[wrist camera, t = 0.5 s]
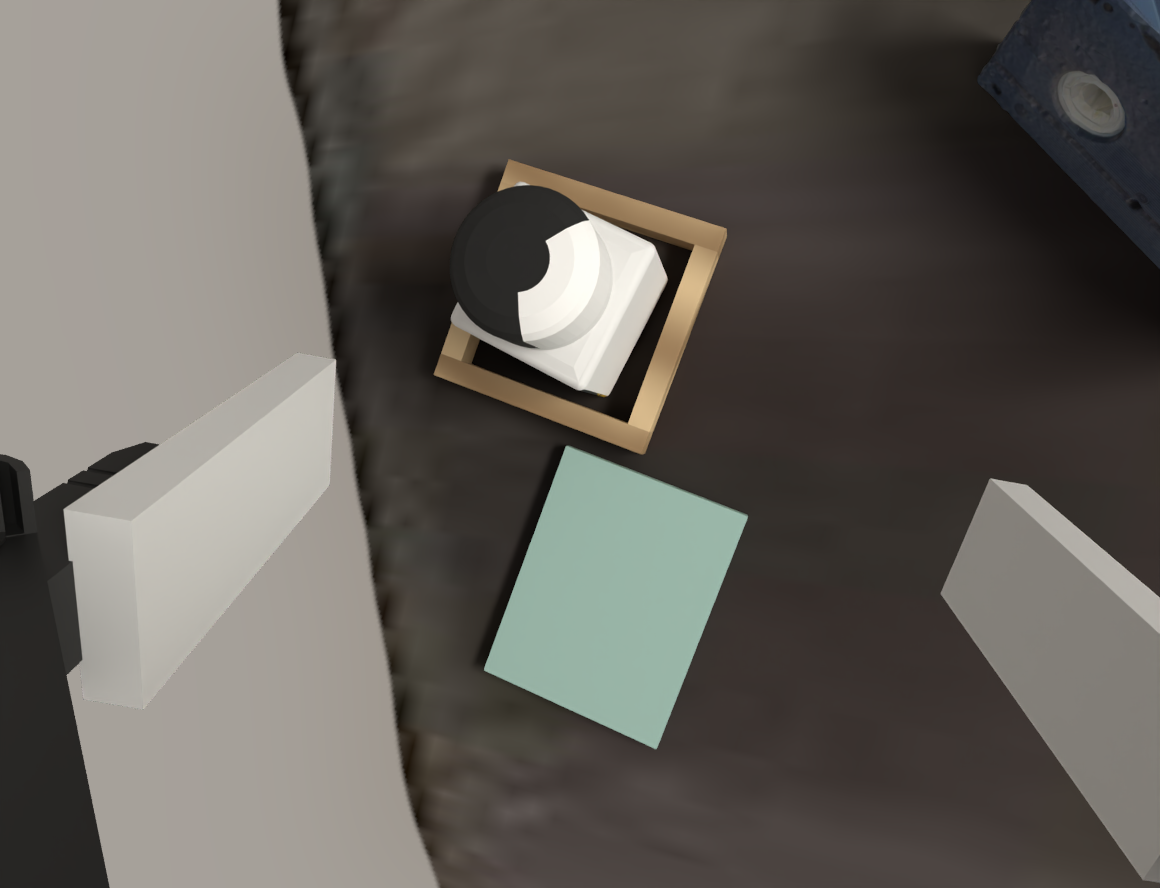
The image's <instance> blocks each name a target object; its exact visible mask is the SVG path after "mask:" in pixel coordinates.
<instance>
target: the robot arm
mask: <svg viewBox="0 0 1160 888" xmlns="http://www.w3.org/2000/svg"><path fill="white" fill-rule="evenodd" d="M335 374H336V359H330V358H324V357H319V356H314V355H308V354H303V353H296V354H294V355H293V356H291V357H290V358H288V359H287V360H285V361H284V362H282V363H281V364H279V365H278V366H276V367H275V368H273V369H272V370H270V371H269V372H267V373H266V374H264V375H263V376H261V377H260V378H259V379H257V380H255V381H254V382H252V383H251V384H250V385H248V386H246V387H245V388H243V389H242V390H241V391H239V392H238V393H236V394H235V395H233V396H232V397H230V398H229V399H227V400H226V401H224V402H223V403H221V404H220V405H218V406H217V407H215V408H214V409H212V410H211V411H209V412H208V413H206V414H205V415H203V416H202V417H200V418H199V419H198V420H196V421H194V422H193V423H191V424H190V425H188V426H187V427H185V428H184V429H182V430H181V431H179V432H178V433H176V434H175V435H173V436H172V437H170V438H169V439H167V440H166V441H164V442H163V443H161V444H160V445H159V444H153V443H147V442H144V443H142V444H138V445H135V446H132V447H128V448H125V449H122V450H119V451H115V452H112V453H111V454H109V455H107V456H106V457H104V458H102V459H101V460H99V461H98V462H96V463H94V464H93V465H91V466H90V467H88V470H87V471H82V472H80V473H78V474H77V475H75V476H73V477H72V478H70V479H69V480H68V483H67V484H65V483H62V484H61V485H59V486H57V487H56V488H54V489H53V490H51V491H49V492H48V493H46V494H45V495H43V496H41V497H40V498H38V499H37V500H35V501H33V492H32V485H31V476H30V470H29V468H28V467H27V466H26V465H25V464H24V462H23V461H20V460H18V459H15V458H12V457H10V456H7V455H1V454H0V888H109V883H108V878H107V873H106V868H105V863H104V858H103V853H102V848H101V843H100V839H99V834H98V829H97V824H96V819H95V814H94V809H93V804H92V799H91V794H90V789H89V784H88V779H87V774H86V770H85V765H84V760H83V755H82V750H81V745H80V740H79V736H78V730H77V725H76V720H75V716H74V710H73V705H72V701H71V696H70V691H69V686H68V681H67V676H66V675H67V674H68V673H69V672H70V671H71V670H72V669H73V668H74V667H75V666H77V665H78V664H80V674H81V683H82V693H83V700H89V701H95V702H101V703H106V704H112V705H118V706H125V707H131V708H136V709H142V710H144V709H145V707H146V706H147V705H148V704H149V702H150V701H151V700H152V699H153V697H154V696H155V695H156V694H157V693H158V692H159V690H160V689H161V688H162V687H163V686H164V684H165V683H166V682H167V681H168V680H169V678H170V677H171V676H172V675H173V674H174V672H175V671H176V670H177V669H178V668H179V666H180V665H181V664H182V663H183V662H184V660H185V659H186V658H187V657H188V655H189V654H190V653H191V652H192V650H193V649H194V648H195V647H196V646H197V645H198V643H199V642H200V641H201V640H202V639H203V637H204V636H205V635H206V634H207V633H208V631H209V630H210V629H211V628H212V627H213V625H214V624H215V623H216V622H217V621H218V619H219V618H220V617H221V616H222V614H223V613H224V612H225V611H226V610H227V608H228V607H229V606H230V605H231V604H232V602H233V601H234V600H235V599H236V598H237V596H238V595H239V594H240V593H241V591H242V590H243V589H244V588H245V587H246V586H247V584H248V583H249V582H250V581H251V579H252V578H253V577H254V576H255V575H256V573H257V572H258V571H259V570H260V568H261V567H262V566H263V565H264V564H265V563H266V561H267V560H268V559H269V558H270V557H271V555H272V554H273V553H274V552H275V550H276V549H277V548H278V547H279V546H280V545H281V543H282V542H283V541H284V540H285V538H286V537H287V536H288V535H289V534H290V532H291V531H292V530H293V529H294V528H295V526H296V525H297V524H298V523H299V522H300V520H301V519H302V518H303V517H304V516H305V514H306V513H307V512H308V511H309V510H310V508H311V507H312V506H313V505H314V503H315V502H316V501H317V500H318V499H319V497H320V496H321V495H322V494H323V493H324V491H325V490H326V489H327V488H328V487H329V485H330V472H331V471H330V470H331V451H332V432H333V413H334V394H335ZM941 595H942V596H943V598H944V599H945V601H946V602H947V604H948V605H949V606H950V608H951V609H952V611H953V612H954V613H955V615H956V616H957V618H958V619H959V621H960V622H961V623H962V625H963V626H964V628H965V629H966V630H967V632H968V633H969V635H970V636H971V637H972V639H973V640H974V642H975V643H976V645H977V646H978V647H979V649H980V650H981V652H982V653H983V654H984V656H985V657H986V659H987V660H988V662H989V663H990V664H991V666H992V667H993V669H994V670H995V671H996V673H997V674H998V676H999V677H1000V678H1001V680H1002V681H1003V683H1004V684H1005V686H1006V687H1007V688H1008V690H1009V691H1010V693H1011V694H1012V695H1013V697H1014V698H1015V700H1016V701H1017V703H1018V704H1019V705H1020V707H1021V708H1022V710H1023V711H1024V712H1025V714H1026V715H1027V717H1028V718H1029V720H1030V721H1031V722H1032V724H1033V725H1034V727H1035V728H1036V729H1037V731H1038V732H1039V734H1040V735H1041V736H1042V738H1043V739H1044V741H1045V742H1046V744H1047V745H1048V746H1049V748H1050V749H1051V751H1052V752H1053V753H1054V755H1055V756H1056V758H1057V759H1058V761H1059V762H1060V763H1061V765H1062V766H1063V768H1064V769H1065V770H1066V772H1067V773H1068V775H1069V776H1070V777H1071V779H1072V780H1073V782H1074V783H1075V785H1076V786H1077V787H1078V789H1079V790H1080V792H1081V793H1082V794H1083V796H1084V797H1085V799H1086V800H1087V802H1088V803H1089V804H1090V806H1091V807H1092V809H1093V810H1094V811H1095V813H1096V814H1097V816H1098V817H1099V818H1100V820H1101V821H1102V823H1103V824H1104V826H1105V827H1106V828H1107V830H1108V831H1109V833H1110V834H1111V835H1112V837H1113V838H1114V840H1115V841H1116V843H1117V844H1118V845H1119V847H1120V848H1121V850H1122V851H1123V852H1124V854H1125V855H1126V857H1127V858H1128V859H1129V861H1130V862H1131V864H1132V865H1133V867H1134V868H1135V869H1136V871H1137V872H1138V874H1139V875H1140V876H1141V878H1142V879H1143V880H1147V881H1153V882H1159V883H1160V598H1159V597H1158V596H1157V595H1156V594H1155V593H1154V592H1152V591H1151V590H1150V589H1149V588H1148V587H1146V586H1145V585H1144V584H1143V583H1142V582H1141V581H1139V580H1138V579H1137V578H1136V577H1135V576H1134V575H1132V574H1131V573H1130V572H1129V571H1128V570H1126V569H1125V568H1124V567H1123V566H1122V565H1121V564H1119V563H1118V562H1117V561H1116V560H1115V559H1114V558H1112V557H1111V556H1110V555H1109V554H1108V553H1106V552H1105V551H1104V550H1103V549H1102V548H1101V547H1099V546H1098V545H1097V544H1096V543H1095V542H1093V541H1092V540H1091V539H1090V538H1089V537H1088V536H1086V535H1085V534H1084V533H1083V532H1082V531H1081V530H1079V529H1078V528H1077V527H1076V526H1075V525H1073V524H1072V523H1071V522H1070V521H1069V520H1068V519H1066V518H1065V517H1064V516H1063V515H1062V514H1061V513H1059V512H1058V511H1057V510H1056V509H1055V508H1053V507H1052V506H1051V505H1050V504H1049V503H1048V502H1046V501H1045V500H1044V499H1043V498H1042V497H1041V496H1039V495H1038V494H1037V493H1036V492H1035V491H1033V490H1032V489H1031V488H1030V487H1029V486H1028V485H1023V484H1017V483H1012V482H1006V481H1001V480H995V479H990V480H989V482H988V485H987V487H986V489H985V492H984V494H983V496H982V499H981V501H980V503H979V506H978V508H977V510H976V513H975V515H974V517H973V520H972V522H971V524H970V526H969V529H968V531H967V533H966V536H965V538H964V540H963V543H962V545H961V547H960V550H959V552H958V554H957V557H956V559H955V561H954V564H953V566H952V568H951V571H950V573H949V575H948V578H947V580H946V582H945V585H944V587H943V589H942V592H941Z"/></svg>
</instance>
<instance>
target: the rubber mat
mask: <svg viewBox="0 0 1160 888" xmlns="http://www.w3.org/2000/svg"><path fill="white" fill-rule="evenodd" d="M747 518H748V515H747V514H744V513H742V512H739V511H737V510H734V509H731V508H729V507H726V506H724V505H721V504H719V503H716V502H713V501H711V500H708V499H706V498H703V497H701V496H698V495H695V494H693V493H690V492H688V491H685V490H683V489H680V488H677V487H675V486H672V485H670V484H667V483H664V482H662V481H659V480H657V479H654V478H652V477H649V476H646V475H644V474H641V473H639V472H636V471H634V470H631V469H628V468H626V467H623V466H621V465H618V464H616V463H613V462H610V461H608V460H605V459H603V458H600V457H598V456H595V455H592V454H590V453H587V452H585V451H582V450H580V449H577V448H574V447H572V446H566V448H565V450H564V453H563V456H562V459H561V461H560V464H559V467H558V469H557V472H556V475H555V478H554V480H553V483H552V486H551V488H550V491H549V494H548V497H547V499H546V502H545V505H544V507H543V510H542V513H541V516H540V518H539V521H538V524H537V526H536V529H535V532H534V535H533V537H532V540H531V543H530V546H529V548H528V551H527V554H526V556H525V559H524V562H523V565H522V567H521V570H520V573H519V575H518V578H517V581H516V584H515V586H514V589H513V592H512V594H511V597H510V600H509V603H508V605H507V608H506V611H505V613H504V616H503V619H502V622H501V624H500V627H499V630H498V632H497V635H496V638H495V641H494V643H493V646H492V649H491V651H490V654H489V657H488V660H487V662H486V665H485V668H484V671H486V672H489V673H491V674H493V675H495V676H497V677H500V678H502V679H504V680H506V681H508V682H510V683H513V684H515V685H517V686H519V687H521V688H524V689H526V690H528V691H530V692H532V693H535V694H537V695H539V696H541V697H543V698H545V699H548V700H550V701H552V702H554V703H556V704H559V705H561V706H563V707H565V708H567V709H569V710H572V711H574V712H576V713H578V714H580V715H583V716H585V717H587V718H589V719H591V720H593V721H596V722H598V723H600V724H602V725H604V726H607V727H609V728H611V729H613V730H615V731H617V732H620V733H622V734H624V735H626V736H628V737H631V738H633V739H635V740H637V741H639V742H642V743H644V744H646V745H648V746H650V747H652V748H655V749H657V747H658V744H659V742H660V739H661V737H662V734H663V731H664V729H665V726H666V724H667V721H668V719H669V716H670V714H671V711H672V709H673V706H674V704H675V701H676V698H677V696H678V693H679V691H680V688H681V686H682V683H683V681H684V678H685V676H686V673H687V670H688V668H689V665H690V663H691V660H692V658H693V655H694V653H695V650H696V648H697V645H698V642H699V640H700V637H701V635H702V632H703V630H704V627H705V625H706V622H707V620H708V617H709V615H710V612H711V609H712V607H713V604H714V602H715V599H716V597H717V594H718V592H719V589H720V587H721V584H722V581H723V579H724V576H725V574H726V571H727V569H728V566H729V564H730V561H731V559H732V556H733V553H734V551H735V548H736V546H737V543H738V541H739V538H740V536H741V533H742V531H743V528H744V526H745V523H746V520H747Z"/></svg>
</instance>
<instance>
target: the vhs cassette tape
mask: <svg viewBox="0 0 1160 888" xmlns="http://www.w3.org/2000/svg"><path fill="white" fill-rule="evenodd" d="M977 81H978V84H979V85H980V86H981V87H983V88H984V89H985V90H986V91H987V92H988V93H989V94H990V95H992V96H993V97H994V98H995V100H996V101H997V102H998V103H999V105H1000V106H1001V107H1002V109H1003V110H1006V111H1008V112H1009V114H1010V116H1011V117H1012V118H1013V119H1014V120H1015V121H1016V122H1017V123H1018V124H1019V125H1020V126H1021V127H1022V128H1023V129H1024V130H1025V131H1026V132H1027V133H1028V134H1029V135H1030V136H1031V137H1032V138H1033V139H1034V140H1035V141H1036V142H1037V143H1038V145H1039V146H1040V147H1041V148H1042V149H1043V150H1044V151H1045V152H1046V153H1047V154H1048V155H1049V156H1050V157H1051V158H1052V159H1053V160H1054V161H1055V162H1056V163H1057V164H1058V165H1059V166H1060V168H1061V169H1062V170H1063V171H1064V172H1065V173H1066V174H1067V175H1068V176H1069V177H1070V178H1071V179H1072V180H1073V181H1074V182H1075V183H1076V184H1077V185H1078V186H1079V187H1080V188H1081V189H1082V190H1083V191H1084V192H1085V193H1086V194H1087V195H1088V196H1089V197H1090V198H1091V199H1092V201H1093V202H1095V203H1096V204H1097V205H1098V206H1099V207H1100V208H1101V209H1102V210H1103V211H1104V212H1105V213H1106V214H1107V215H1108V216H1109V218H1110V219H1111V220H1112V221H1113V222H1114V223H1115V224H1116V225H1117V226H1118V227H1119V228H1120V229H1121V230H1122V231H1123V232H1124V233H1125V234H1126V235H1127V236H1128V237H1129V238H1130V239H1131V240H1132V241H1133V242H1134V243H1135V244H1136V245H1137V246H1138V247H1139V248H1140V249H1141V250H1142V252H1143V253H1144V254H1145V255H1146V256H1147V257H1148V258H1149V259H1150V260H1151V261H1152V262H1153V263H1154V264H1155V265H1156V266H1157V267H1158V268H1159V269H1160V0H1032V1H1031V2H1030V3H1029V4H1028V6H1027V7H1026V8H1025V9H1024V10H1023V11H1022V14H1021V16H1020V19H1019V20H1018V21H1016V22H1015V23H1014V25H1013V26H1012V28H1011V29H1010V31H1009V32H1008V34H1007V35H1006V37H1005V38H1004V40H1003V41H1002V42H1001V43H999V44H998V46H997V49H996V52H995V53H994V55H993V56H992V58H991V59H990V61H989V62H988V63H987V64H986V65H985V66H984V67H983V69H982V72H981V73H980V74H979V75H978V80H977Z"/></svg>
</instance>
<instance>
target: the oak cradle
mask: <svg viewBox="0 0 1160 888" xmlns="http://www.w3.org/2000/svg"><path fill="white" fill-rule="evenodd" d="M518 182H525V183H527V184H529V185H534V186H542V187H546V188H550V189H552V190H555V191H557V192H560V193H561V194H563V195H565V196H567V197H568V198H569V199H571V200H572V201H573V202H574V203H576V204H577V205H578V206H579V208H580V209H581V210H583V211H586V212H588V213H590V214H592V215H594V216H596V217H598V218H600V219H602V220H604V221H606V222H609V223H611V224H613V225H615V226H618V227H621V228H624V229H627V230H630V231H633V232H636V233H639V234H642V235H645V236H648V237H651V238H654V239H657V240H660V241H663V242H667V243H670V244H673V245H676V246H679V247H682V248H685V249H688V250H691V251H692V253H691V256H690V259H689V261H688V264H687V267H686V269H685V272H684V275H683V277H682V280H681V283H680V285H679V288H678V291H677V293H676V296H675V299H674V301H673V304H672V307H671V309H670V312H669V315H668V317H667V320H666V323H665V325H664V328H663V331H662V333H661V336H660V339H659V341H658V344H657V347H656V349H655V352H654V355H653V357H652V360H651V363H650V365H649V368H648V371H647V373H646V376H645V379H644V381H643V384H642V387H641V389H640V392H639V395H638V397H637V400H636V403H635V406H634V408H633V411H632V414H631V416H630V419H629V422H628V423H627V422H624V421H622V420H619V419H616V418H614V417H611V416H609V415H606V414H603V413H601V412H598V411H595V410H593V409H590V408H587V407H585V406H582V405H579V404H577V403H574V402H571V401H569V400H566V399H563V398H561V397H558V396H555V395H553V394H550V393H547V392H545V391H542V390H540V389H537V388H534V387H532V386H529V385H526V384H524V383H521V382H518V381H516V380H513V379H510V378H508V377H505V376H502V375H500V374H497V373H494V372H492V371H489V370H486V369H484V368H481V367H479V366H476V365H473V364H471V363H472V361H473V358H474V355H475V352H476V349H477V346H478V344H479V341H480V339H479V338H477V337H475V336H473V335H471V334H470V333H468V332H466V331H464V330H462V329H460V328H458V327H456V326H455V325H454V324H453V323H452V324H451V326H450V329H449V332H448V335H447V338H446V341H445V344H444V347H443V349H442V352H441V355H440V358H439V361H438V364H437V367H436V369H435V372H434V375H436V376H438V377H441V378H443V379H446V380H449V381H451V382H454V383H456V384H459V385H462V386H464V387H467V388H469V389H472V390H475V391H477V392H480V393H482V394H485V395H488V396H490V397H493V398H495V399H498V400H501V401H503V402H506V403H509V404H511V405H514V406H516V407H519V408H522V409H524V410H527V411H529V412H532V413H535V414H537V415H540V416H542V417H545V418H548V419H550V420H553V421H555V422H558V423H561V424H563V425H566V426H568V427H571V428H574V429H576V430H579V431H581V432H584V433H587V434H589V435H592V436H595V437H597V438H600V439H602V440H605V441H608V442H610V443H613V444H615V445H618V446H621V447H623V448H626V449H628V450H631V451H634V452H636V453H639V454H645V452H646V449H647V447H648V444H649V441H650V439H651V436H652V433H653V431H654V428H655V426H656V423H657V420H658V418H659V415H660V412H661V410H662V407H663V404H664V402H665V399H666V396H667V394H668V391H669V388H670V386H671V383H672V381H673V378H674V375H675V373H676V370H677V367H678V365H679V362H680V359H681V357H682V354H683V351H684V349H685V346H686V343H687V341H688V338H689V336H690V333H691V330H692V328H693V325H694V322H695V320H696V317H697V314H698V312H699V309H700V306H701V304H702V301H703V298H704V296H705V293H706V291H707V288H708V285H709V283H710V280H711V277H712V275H713V272H714V269H715V267H716V264H717V261H718V259H719V256H720V253H721V251H722V248H723V246H724V243H725V240H726V238H727V229H726V228H723V227H720V226H716V225H713V224H710V223H707V222H704V221H701V220H698V219H694V218H691V217H688V216H685V215H682V214H679V213H676V212H672V211H669V210H666V209H663V208H660V207H657V206H654V205H650V204H647V203H644V202H641V201H638V200H635V199H632V198H628V197H625V196H622V195H619V194H616V193H613V192H610V191H607V190H603V189H600V188H597V187H594V186H591V185H588V184H585V183H581V182H578V181H575V180H572V179H569V178H566V177H563V176H559V175H556V174H553V173H550V172H547V171H544V170H541V169H537V168H534V167H531V166H528V165H525V164H522V163H519V162H516V161H512V160H508V163H507V166H506V169H505V172H504V175H503V177H502V180H501V183H500V186H499V189H498V191H501V190H503V189H506V188H510V187H514V185H515V184H516V183H518Z"/></svg>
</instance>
